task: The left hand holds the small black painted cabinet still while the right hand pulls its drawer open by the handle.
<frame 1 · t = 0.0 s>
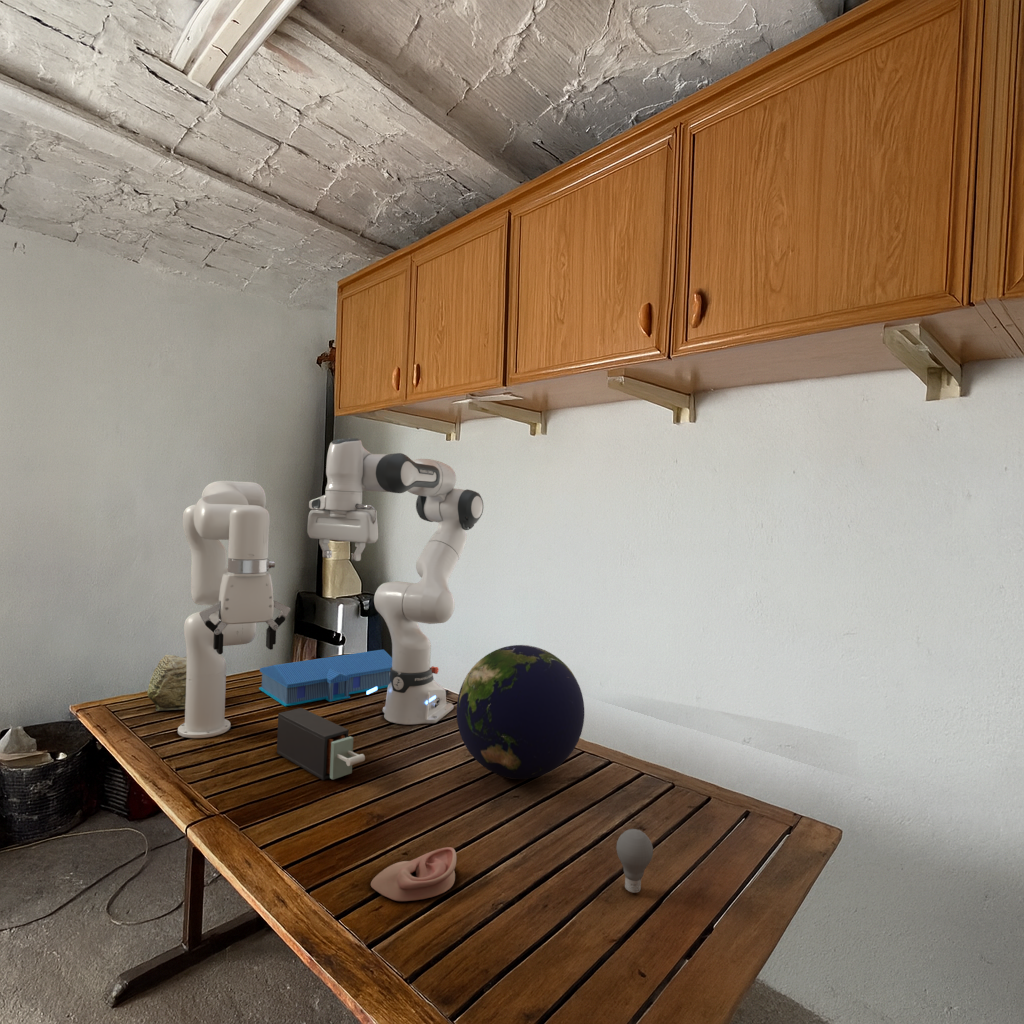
left hand: (244, 650, 130), 31 cm above the table, tool pointing down, fingers open, 9 cm apart
right hand: (341, 559, 157), 48 cm above the table, tool pointing down, fingers open, 8 cm apart
globe: (517, 774, 149), on the table
drawer: (325, 749, 147), point 5 cm above the table, slide at 1.6 cm
model building: (332, 688, 208), on the table
cabinet: (310, 762, 151), on the table
fossil: (183, 706, 185), on the table
light bulb: (632, 891, 106), on the table
anatomical model: (414, 882, 106), on the table
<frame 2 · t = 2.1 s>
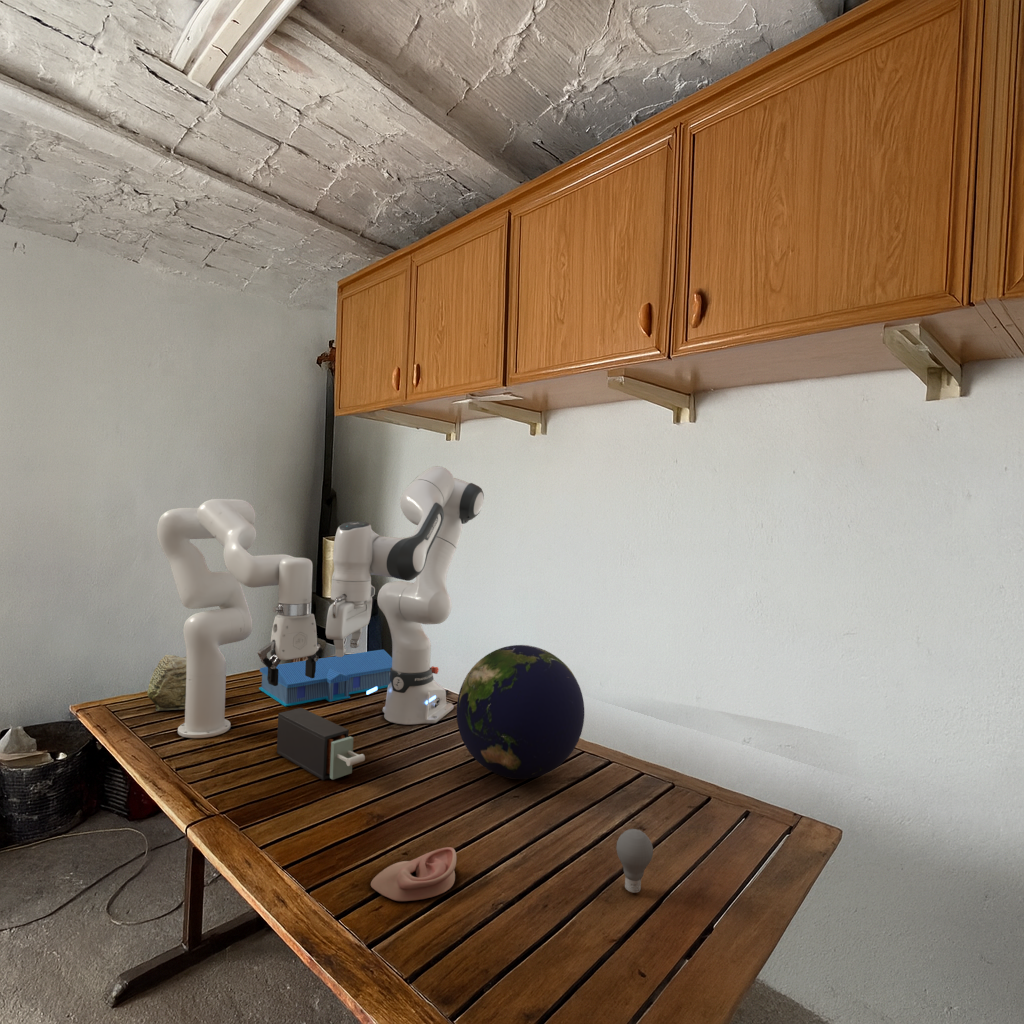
left hand: (291, 680, 152), 19 cm above the table, tool pointing down, fingers open, 9 cm apart
right hand: (347, 651, 146), 28 cm above the table, tool pointing down, fingers open, 8 cm apart
nothing on the table moved.
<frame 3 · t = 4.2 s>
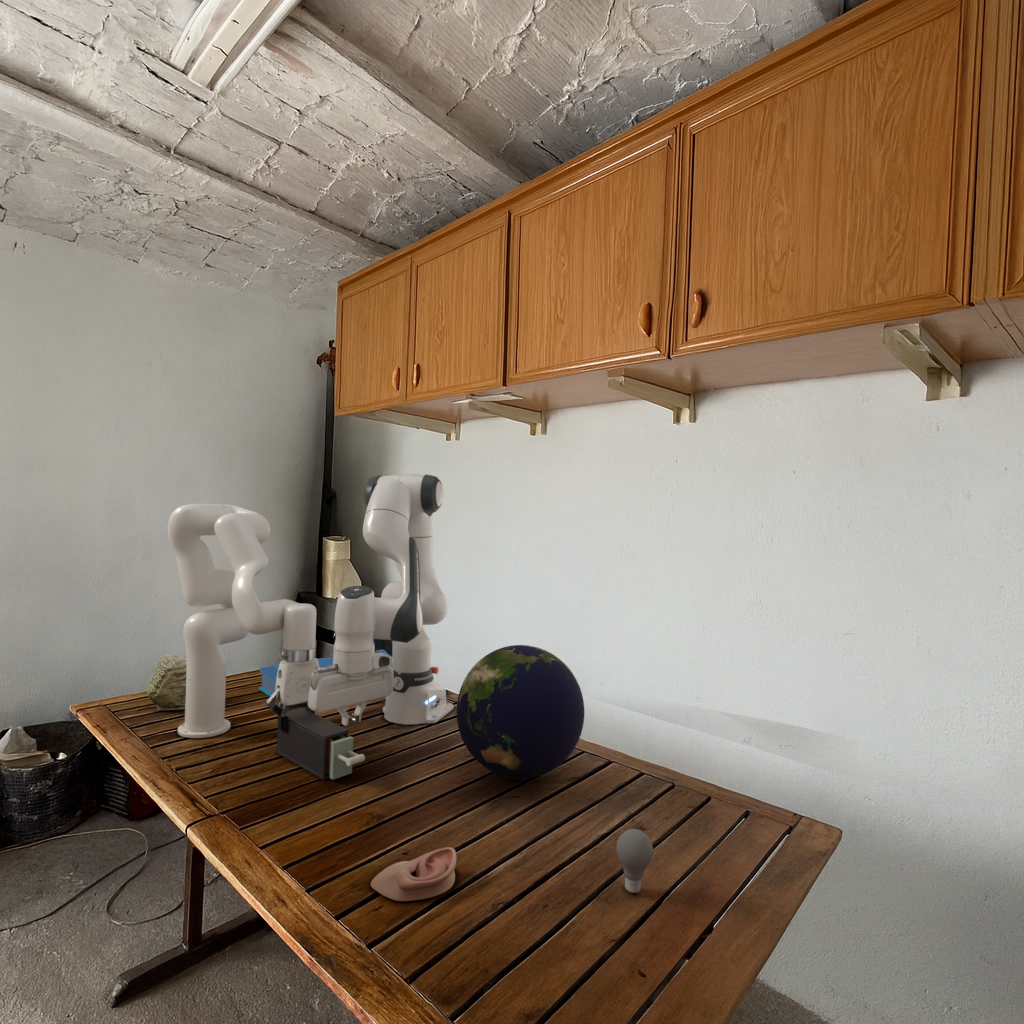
left hand: (296, 727, 155), 7 cm above the table, tool pointing down, fingers closed on cabinet, 6 cm apart
right hand: (351, 723, 140), 14 cm above the table, tool pointing down, fingers closed
cabinet: (310, 762, 151), on the table, touching left hand
everything else where it was.
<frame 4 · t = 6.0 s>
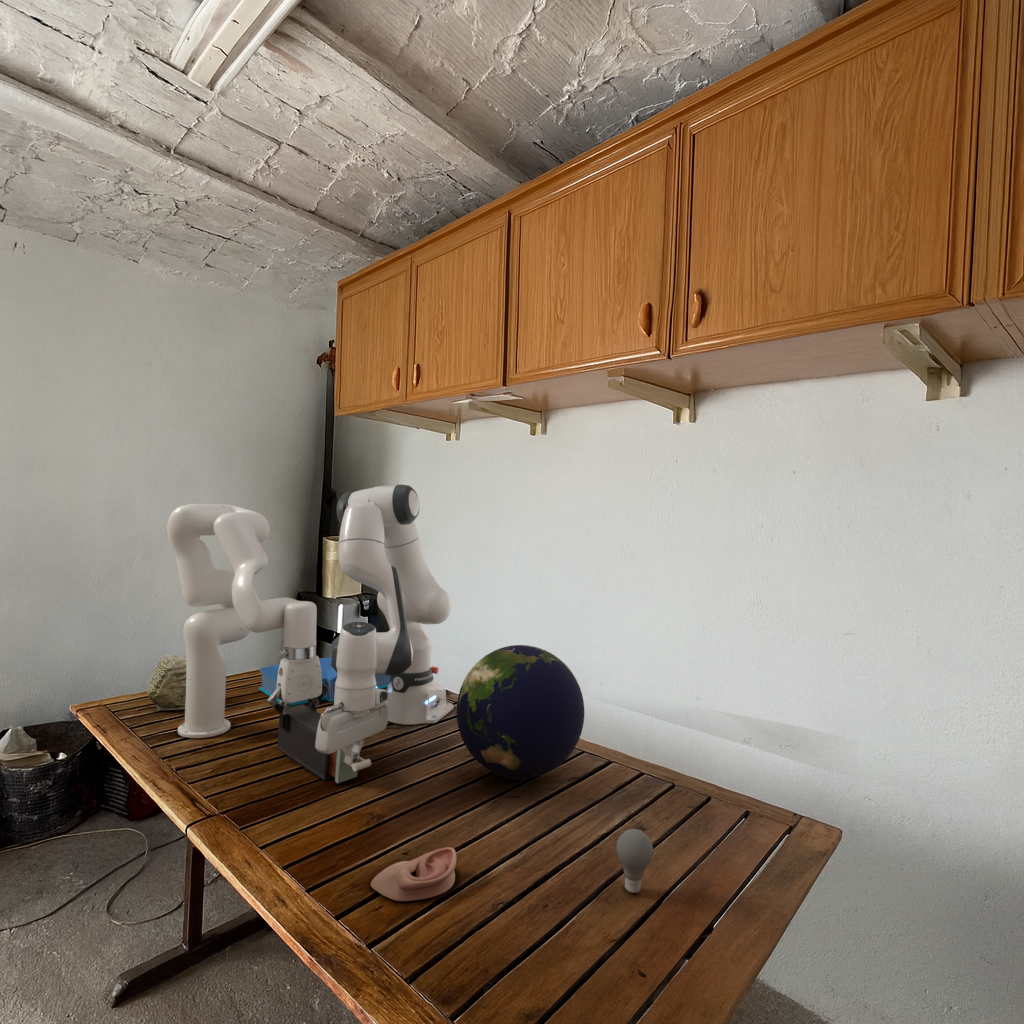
left hand: (297, 725, 155), 7 cm above the table, tool pointing down, fingers closed on cabinet, 6 cm apart
right hand: (351, 761, 139), 6 cm above the table, tool pointing down, fingers closed, pressing on drawer
drawer: (330, 751, 145), point 5 cm above the table, slide at 3.2 cm, touching right hand
cabinet: (311, 760, 151), on the table, touching left hand
everything else where it was.
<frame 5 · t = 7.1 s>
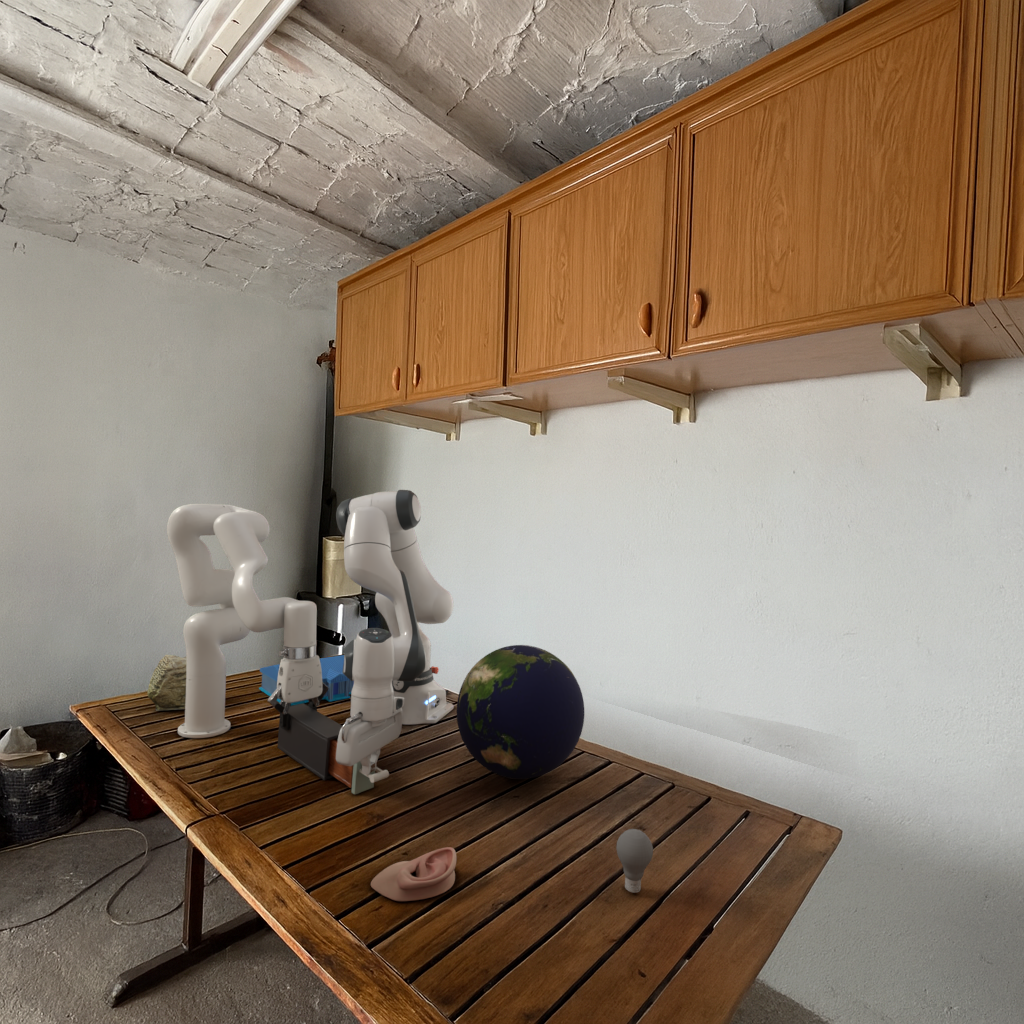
left hand: (298, 724, 155), 7 cm above the table, tool pointing down, fingers closed on cabinet, 6 cm apart
right hand: (369, 771, 135), 5 cm above the table, tool pointing down, fingers closed, pressing on drawer
drawer: (346, 760, 141), point 5 cm above the table, slide at 9.2 cm, touching right hand
cabinet: (311, 759, 151), point 1 cm above the table, touching left hand
everything else where it was.
when the left hand's fingers open (7 cm above the table, at t = 8.7 s): cabinet stays where it is, on the table.
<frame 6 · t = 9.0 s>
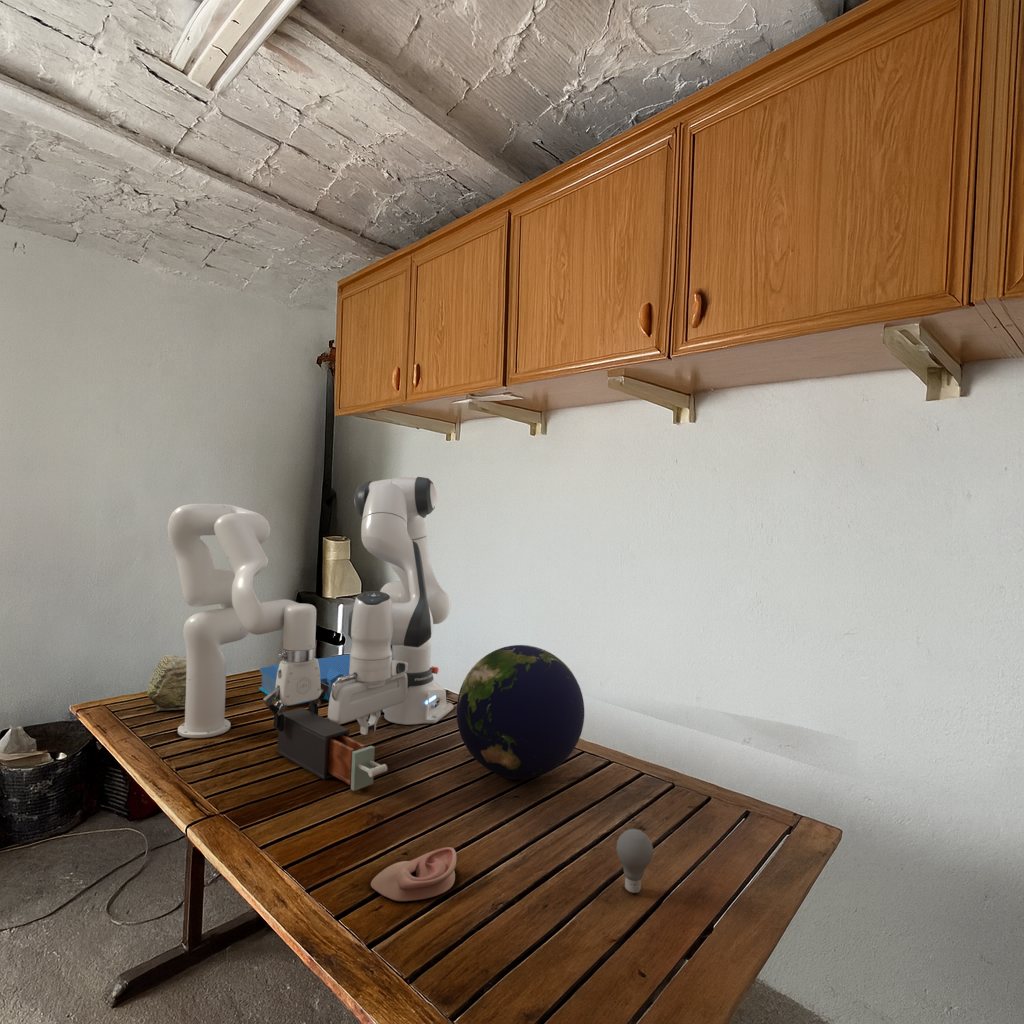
left hand: (296, 725, 155), 7 cm above the table, tool pointing down, fingers open, 8 cm apart
right hand: (368, 732, 136), 13 cm above the table, tool pointing down, fingers closed
drawer: (345, 758, 142), point 5 cm above the table, slide at 9.2 cm
cabinet: (311, 762, 151), on the table
everything else where it was.
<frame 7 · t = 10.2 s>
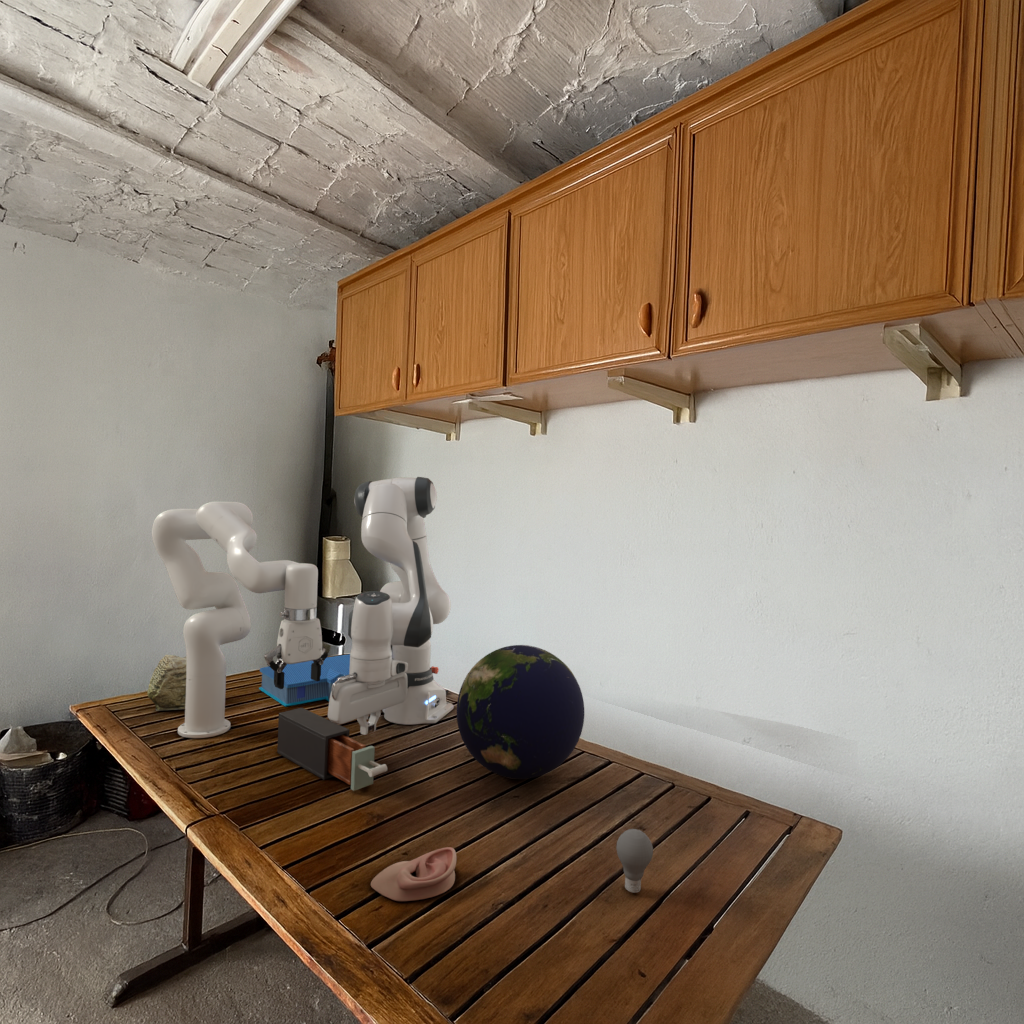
left hand: (297, 683, 155), 17 cm above the table, tool pointing down, fingers open, 9 cm apart
right hand: (368, 732, 136), 13 cm above the table, tool pointing down, fingers closed
nothing on the table moved.
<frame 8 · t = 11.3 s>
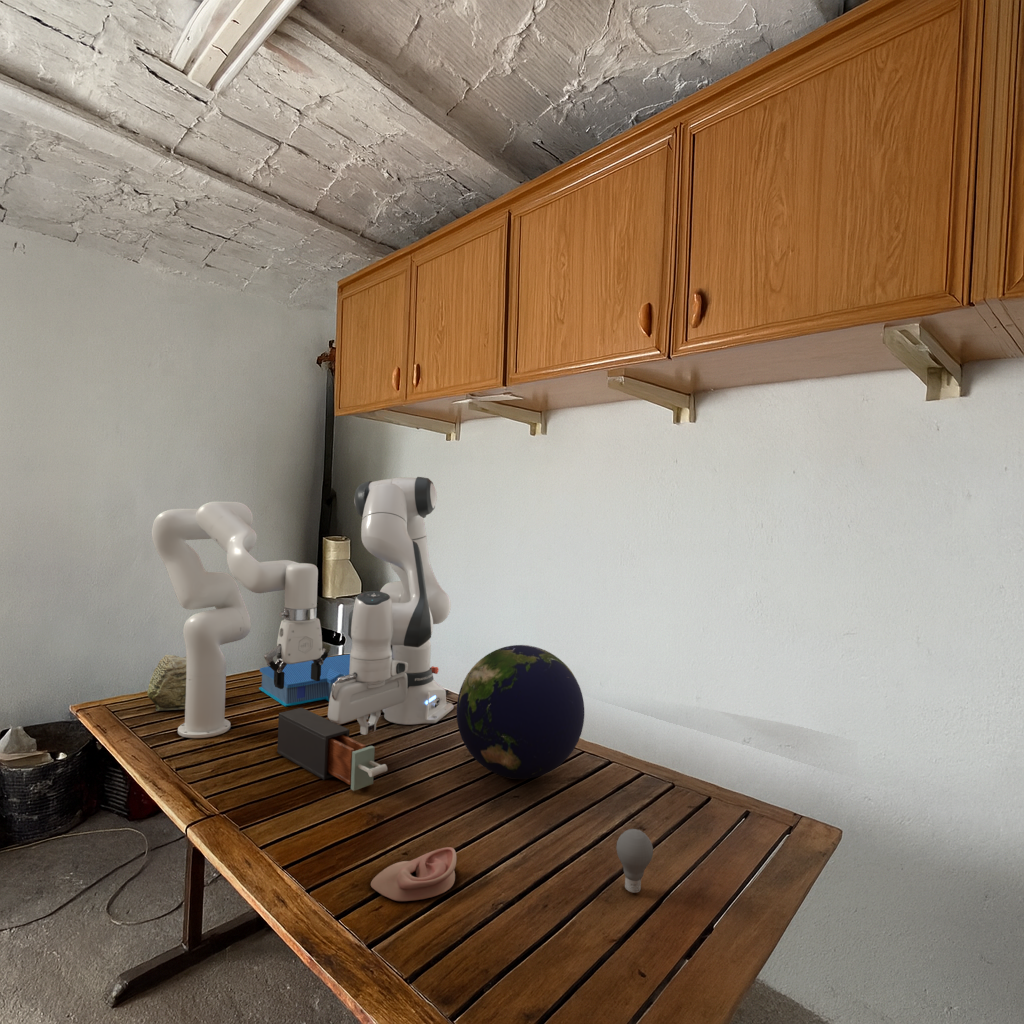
left hand: (297, 683, 155), 17 cm above the table, tool pointing down, fingers open, 9 cm apart
right hand: (368, 732, 136), 13 cm above the table, tool pointing down, fingers closed
nothing on the table moved.
at the end: drawer slide at 9.2 cm; cabinet tilted 0°; cabinet never tilted more than 4° during the clip; cabinet moved 0.2 cm from its start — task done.
